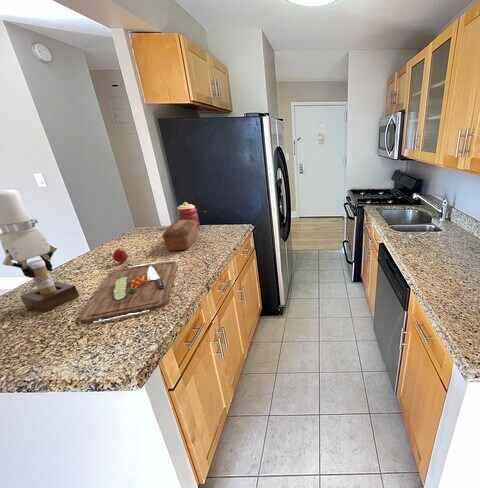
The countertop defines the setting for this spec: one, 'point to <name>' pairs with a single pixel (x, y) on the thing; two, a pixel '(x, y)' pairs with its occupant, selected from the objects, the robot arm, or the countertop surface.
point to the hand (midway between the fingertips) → (40, 273)
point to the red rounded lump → (120, 255)
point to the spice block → (50, 297)
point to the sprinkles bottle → (42, 277)
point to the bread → (180, 235)
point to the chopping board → (131, 292)
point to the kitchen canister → (188, 212)
